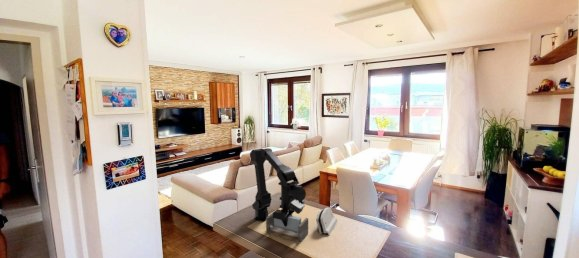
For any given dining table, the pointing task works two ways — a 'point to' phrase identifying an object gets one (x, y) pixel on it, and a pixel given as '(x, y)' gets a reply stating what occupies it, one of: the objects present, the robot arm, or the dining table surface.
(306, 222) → the grey open box
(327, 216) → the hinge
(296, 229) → the door panel
